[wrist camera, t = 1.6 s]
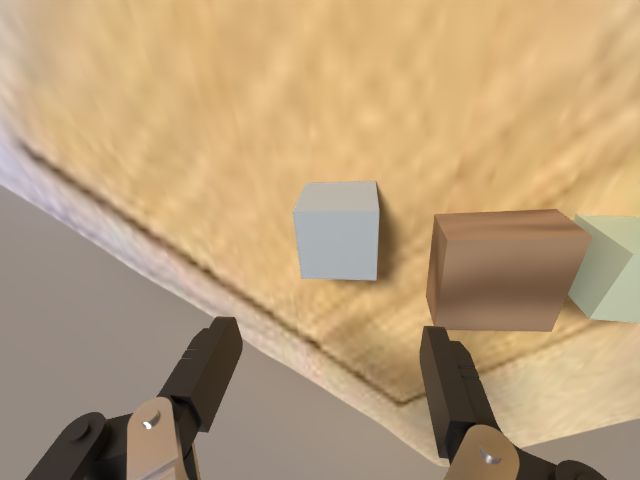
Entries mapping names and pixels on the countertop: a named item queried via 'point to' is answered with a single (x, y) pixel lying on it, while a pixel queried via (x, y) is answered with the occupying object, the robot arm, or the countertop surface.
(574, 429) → the countertop surface
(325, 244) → the slate cube
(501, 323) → the walnut base
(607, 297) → the sage block
